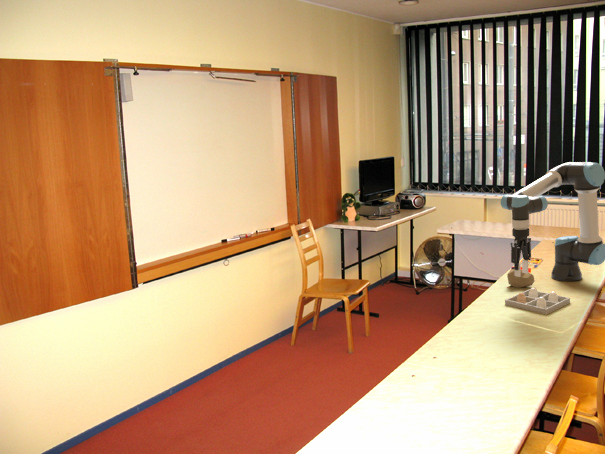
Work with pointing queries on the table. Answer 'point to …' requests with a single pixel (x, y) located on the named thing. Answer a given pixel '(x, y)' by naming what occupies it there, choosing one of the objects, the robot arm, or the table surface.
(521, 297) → the brown egg
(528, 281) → the low-poly potato
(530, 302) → the carton
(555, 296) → the white egg
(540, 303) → the white egg
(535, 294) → the white egg
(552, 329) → the table surface
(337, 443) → the table surface
